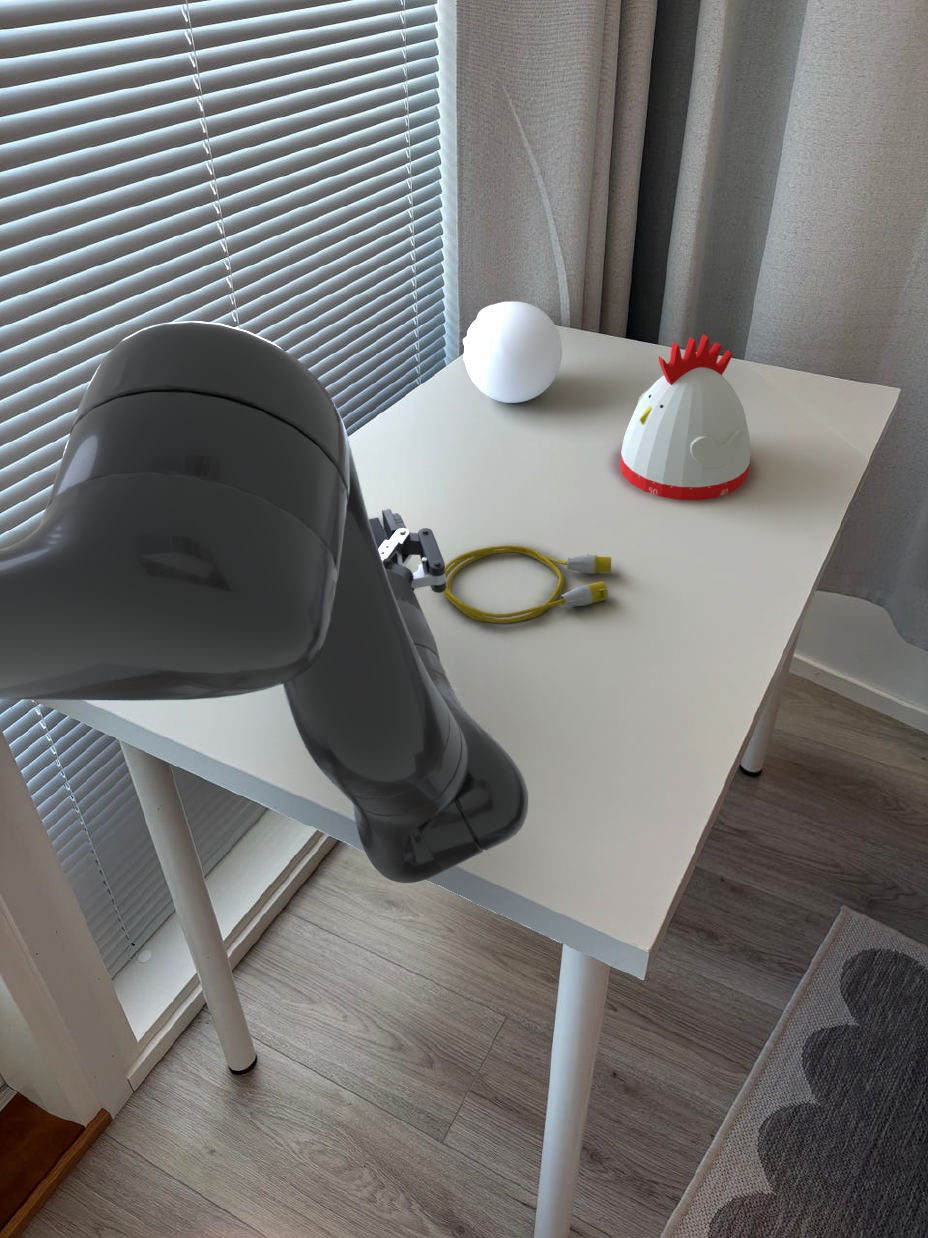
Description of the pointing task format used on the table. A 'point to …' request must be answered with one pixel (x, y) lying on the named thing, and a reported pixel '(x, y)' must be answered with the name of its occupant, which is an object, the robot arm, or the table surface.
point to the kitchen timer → (688, 429)
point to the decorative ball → (512, 351)
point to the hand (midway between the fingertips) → (338, 527)
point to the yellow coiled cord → (578, 563)
